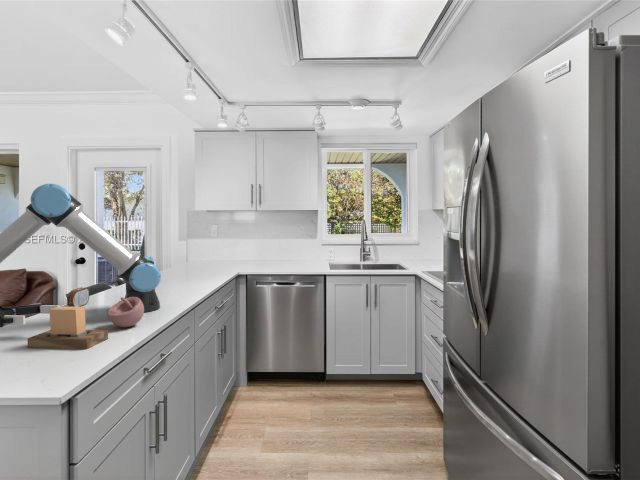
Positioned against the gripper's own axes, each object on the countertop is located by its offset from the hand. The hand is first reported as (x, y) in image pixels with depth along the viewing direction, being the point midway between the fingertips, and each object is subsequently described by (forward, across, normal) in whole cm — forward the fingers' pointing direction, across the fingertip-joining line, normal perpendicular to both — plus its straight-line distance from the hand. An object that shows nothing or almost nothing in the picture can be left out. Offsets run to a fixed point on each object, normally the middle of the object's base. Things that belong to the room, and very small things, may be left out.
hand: (42, 314), depth 125 cm
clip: (+9, 0, -9) cm, 13 cm away
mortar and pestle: (+17, -19, -10) cm, 27 cm away
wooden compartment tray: (+9, 0, -9) cm, 13 cm away
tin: (-26, -50, -10) cm, 57 cm away
